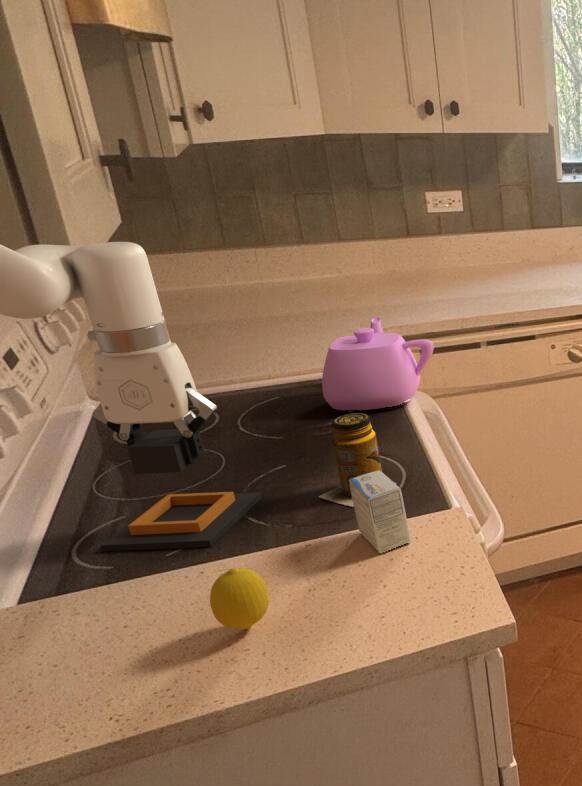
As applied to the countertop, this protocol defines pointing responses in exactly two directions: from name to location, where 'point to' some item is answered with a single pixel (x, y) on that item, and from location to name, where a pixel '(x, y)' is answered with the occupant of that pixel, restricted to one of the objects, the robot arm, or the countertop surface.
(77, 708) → the countertop surface
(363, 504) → the medicine box
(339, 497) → the condiment
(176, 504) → the base pad
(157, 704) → the countertop surface
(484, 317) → the countertop surface
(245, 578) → the lemon
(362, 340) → the teapot
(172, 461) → the small block
